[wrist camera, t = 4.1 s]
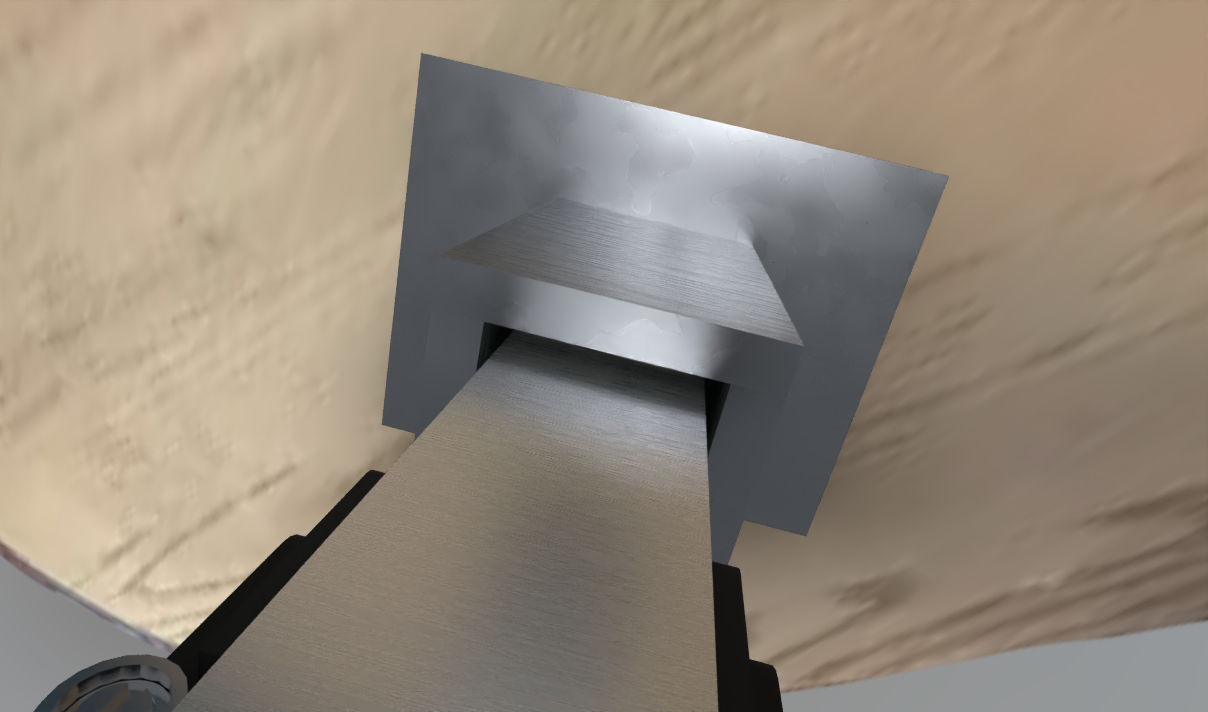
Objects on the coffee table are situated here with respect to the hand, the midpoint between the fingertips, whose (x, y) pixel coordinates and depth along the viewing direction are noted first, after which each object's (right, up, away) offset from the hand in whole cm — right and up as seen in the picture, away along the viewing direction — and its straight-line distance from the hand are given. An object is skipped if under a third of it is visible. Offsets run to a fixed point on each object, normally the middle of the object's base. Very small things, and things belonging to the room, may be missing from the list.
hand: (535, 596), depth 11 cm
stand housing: (+2, +6, +17) cm, 19 cm away
